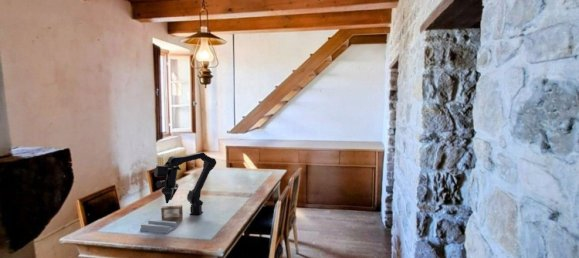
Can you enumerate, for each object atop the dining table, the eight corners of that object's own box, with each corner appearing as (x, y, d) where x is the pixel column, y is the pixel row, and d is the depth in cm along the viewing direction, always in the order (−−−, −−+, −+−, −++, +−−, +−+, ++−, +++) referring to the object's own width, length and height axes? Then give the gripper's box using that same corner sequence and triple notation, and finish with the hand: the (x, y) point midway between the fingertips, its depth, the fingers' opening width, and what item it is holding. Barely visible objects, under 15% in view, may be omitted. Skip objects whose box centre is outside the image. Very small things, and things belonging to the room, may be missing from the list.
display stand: (177, 226, 188) (177, 221, 188) (167, 233, 178) (167, 228, 178) (151, 224, 192) (151, 218, 192) (140, 230, 183) (139, 225, 182)
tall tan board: (182, 219, 201) (182, 205, 200) (182, 220, 198) (181, 206, 197) (162, 220, 198) (162, 206, 198) (161, 222, 195) (161, 208, 195)
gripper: (162, 173, 206) (159, 197, 206) (154, 177, 188) (150, 203, 187) (179, 175, 208) (177, 198, 207) (173, 179, 189) (170, 205, 189)
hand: (168, 201), depth 198 cm, fingers open, 9 cm apart
